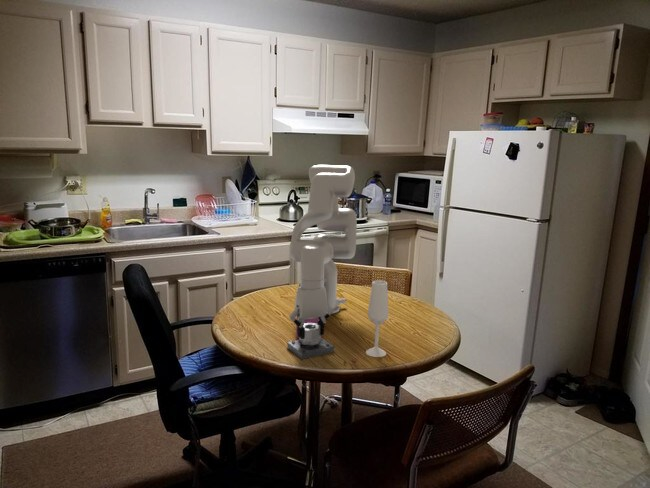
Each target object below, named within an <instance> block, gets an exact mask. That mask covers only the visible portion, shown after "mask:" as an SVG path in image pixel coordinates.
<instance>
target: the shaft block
mask: <svg viewBox="0 0 650 488" xmlns="http://www.w3.org/2000/svg"><path fill="white" fill-rule="evenodd" d="M286 346H287V349H288V350H289V351H291V352H292V353H293V354H295V356H297V357H298V358H300V359H301V360H306V359H310V358H313V357H318V356H322V355H327V354H331V353H334V352H335V346H334V345H333V344H331V343H330V342H328V341H327V340H326V339H324V338H322V337H321V341H320V343H319V344H316V345H304V344H302V343H301V342H300V341H299V339H297V340H293V341H287V345H286Z"/></svg>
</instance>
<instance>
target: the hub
mask: <svg viewBox="0 0 650 488" xmlns="http://www.w3.org/2000/svg"><path fill="white" fill-rule="evenodd" d="M303 327H304V339H301V338H299V339H298V340H299V341H300V342H301V343H302V344H304V345H316V344H319V343H320V341H321V338H322V335H321V326H320V325H318V324H316V323H305V324H304V325H303Z"/></svg>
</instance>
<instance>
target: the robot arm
mask: <svg viewBox="0 0 650 488" xmlns="http://www.w3.org/2000/svg"><path fill="white" fill-rule="evenodd" d="M308 178H309V181H310V190H309V199H308V208H307V209H308V210H307V211H306V213H305V214H304V215H303V216H301V218H299V220H298V221H297V222H296V224H295V225H294V228H293V229H292V233H291V239H290V249H289V255H290V258H291V259H292V261H294V262H297V263H300V283H299V284H300V287H299V286H298V287H297V290H296V295H295V302H294V310H292V312H291V313H290V314H289V316H288V318H289V319H290V320H291V321H292V323H293V324H295V326H296V325H297V335H298V337H299V338H301V339H304V327H303V325H304V323H305V320H306V319H311V318H317V317H318V319H319V320H318V322H317V324H318V325H320V326H321V336H324V334H325V333H324V332H325V324H326V323H327V320H328V319H329V318H330V316H331V315H333V314H337V313H338V312H339V311H340V310H341V307H340V304H346V303H347V299H346V298H340V297H337V294H338V293H337V288H338V267H337V265H336V263H335V262H334V260H333V259H338V260H339V259H341V260H346V259H347V260H350V259H351V260H352V259H353V258H354V257H355V254H356V252H357V251H356V249H357V231H358V230H357V226H358V225H357V222H358V219H357V213H356V211H355V210H353V208H349V207H345V208H344V207H343V208H342V207H339V198H349V197H351V194H352V192H353V190H354V185H355V180H356V174H355V170H354V168H353V166H349V165H334V164H332V165H331V164H317V165H313V166H311V167H309V170H308ZM313 226H316V227H317V229H318V230H320V231H322V232H331V234H330V233H329V234H328V233H323V234H321V233H320V234H317V235H315V236H314V237H313V239H301V237H302V235H303V233H305V231H307V230H308V229H309V228H311V227H313ZM332 232H333V233H343V234H333V233H332ZM297 316H299V317H298V319H297Z"/></svg>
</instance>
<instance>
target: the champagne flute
mask: <svg viewBox="0 0 650 488" xmlns="http://www.w3.org/2000/svg"><path fill="white" fill-rule="evenodd" d="M388 292H389V291H388V282H387V281H385V280H373V281H372V283H371V291H370V297H369V301H368V309H367V317H368V319H369V320H370V322H372V324H373V325H375V327H374V328H375V331H374V333H375V335H374V346H373V347H371V348H368V349H366V351H365V353H366V355H367V356H368V357H369V356H370V357H374V358H382V357H385V356H386V355H387V352H386V351H385V350H383V349H382V348H380V347H379V339H380V338H379V337H380V336H379V333H380V325H382V324H384V323H385V322H386V321H387V320H388V319H389V298H388V297H389V295H388V294H389V293H388Z"/></svg>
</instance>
